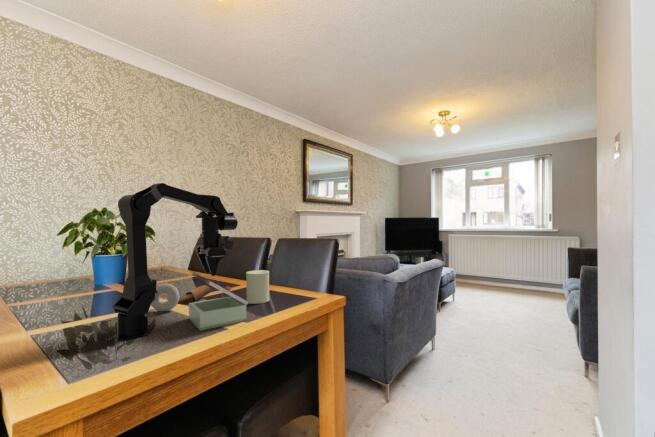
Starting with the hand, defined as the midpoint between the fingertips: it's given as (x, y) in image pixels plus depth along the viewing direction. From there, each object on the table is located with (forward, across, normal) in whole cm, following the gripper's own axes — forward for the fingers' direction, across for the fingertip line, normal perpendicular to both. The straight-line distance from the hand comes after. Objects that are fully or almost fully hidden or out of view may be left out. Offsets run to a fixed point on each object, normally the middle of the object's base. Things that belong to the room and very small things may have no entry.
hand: (210, 274), depth 104 cm
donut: (+13, +9, +13) cm, 21 cm away
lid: (+3, -12, +1) cm, 12 cm away
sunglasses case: (+14, +23, +1) cm, 27 cm away
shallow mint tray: (+13, -12, +1) cm, 17 cm away
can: (+13, +2, -19) cm, 23 cm away
